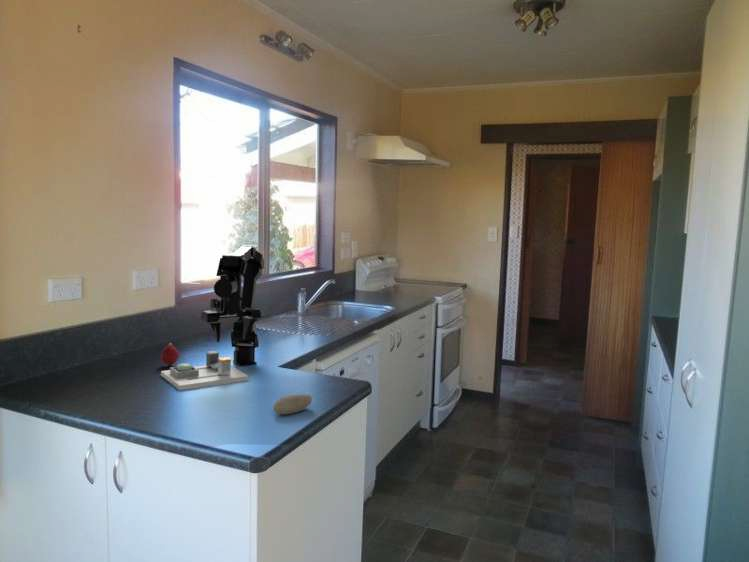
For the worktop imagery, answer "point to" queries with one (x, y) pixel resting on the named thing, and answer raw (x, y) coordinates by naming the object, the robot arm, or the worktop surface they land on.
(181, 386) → the panel
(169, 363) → the onion
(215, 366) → the rocker grey
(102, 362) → the worktop surface
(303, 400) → the stone
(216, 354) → the slider grey
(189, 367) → the button green
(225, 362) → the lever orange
